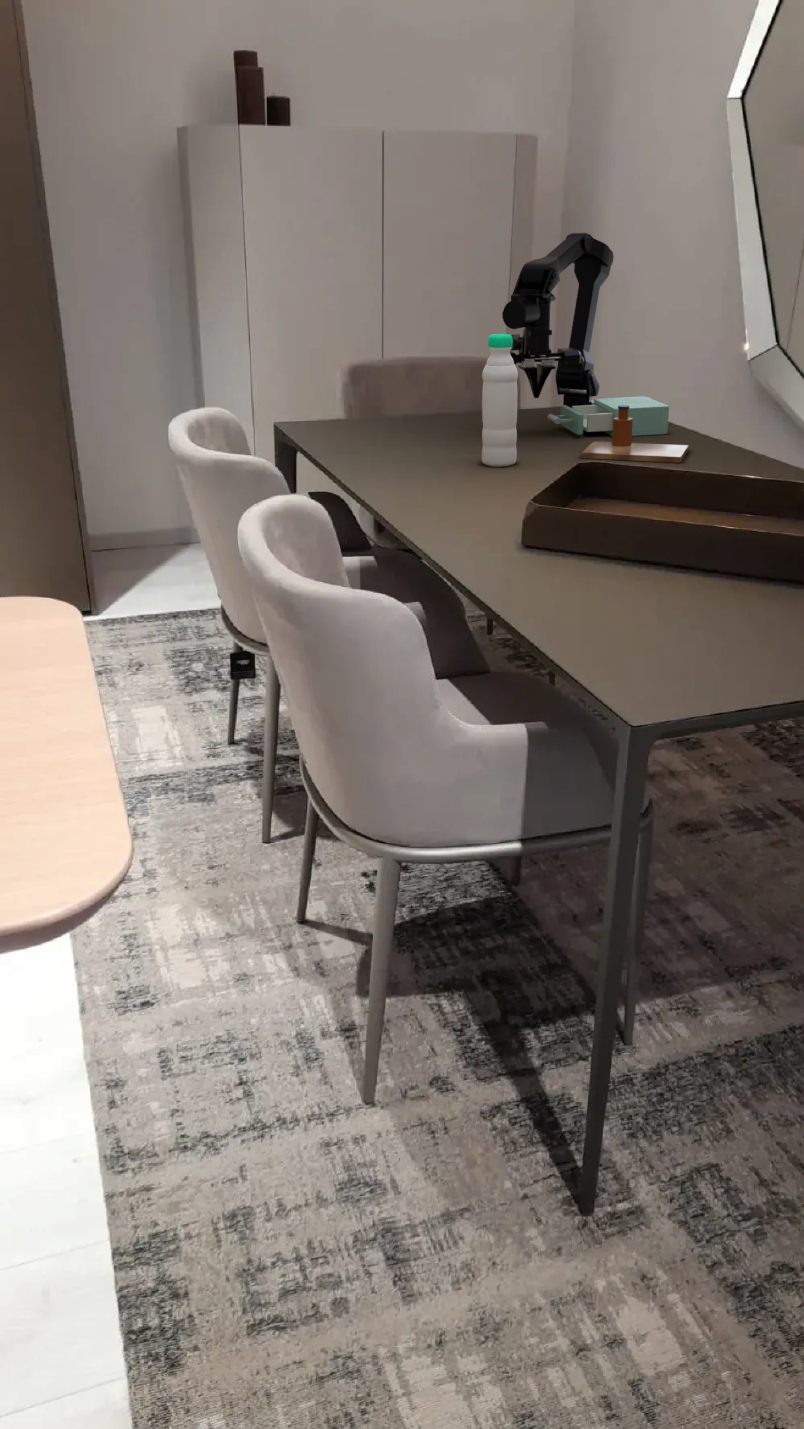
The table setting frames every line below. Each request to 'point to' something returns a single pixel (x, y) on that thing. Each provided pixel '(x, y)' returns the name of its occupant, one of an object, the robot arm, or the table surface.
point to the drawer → (584, 418)
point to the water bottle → (499, 404)
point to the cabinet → (640, 414)
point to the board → (636, 452)
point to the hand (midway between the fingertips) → (536, 398)
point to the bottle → (622, 428)
